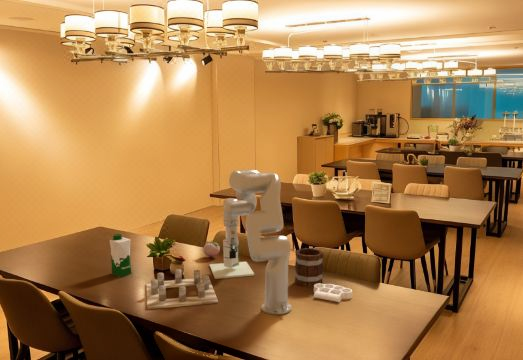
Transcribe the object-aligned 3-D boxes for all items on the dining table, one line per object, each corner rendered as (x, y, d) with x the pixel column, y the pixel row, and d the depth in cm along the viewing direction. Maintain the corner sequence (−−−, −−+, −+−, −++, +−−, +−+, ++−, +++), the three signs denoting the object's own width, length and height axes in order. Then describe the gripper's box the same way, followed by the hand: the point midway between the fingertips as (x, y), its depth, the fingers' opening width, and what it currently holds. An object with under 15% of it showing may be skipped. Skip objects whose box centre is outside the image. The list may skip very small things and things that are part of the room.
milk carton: (123, 269, 258) (121, 232, 255) (134, 273, 252) (132, 235, 249) (108, 274, 251) (107, 236, 248) (120, 278, 245) (118, 239, 242)
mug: (321, 288, 233) (322, 257, 231) (292, 285, 236) (293, 255, 233) (324, 274, 252) (325, 245, 250) (298, 272, 255) (298, 244, 252)
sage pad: (254, 275, 249) (254, 273, 249) (214, 278, 245) (214, 276, 245) (246, 263, 269) (246, 261, 269) (209, 266, 264) (209, 264, 264)
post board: (218, 302, 215) (217, 287, 214) (147, 309, 208) (146, 293, 207) (208, 279, 244) (208, 265, 243) (146, 284, 237) (145, 270, 236)
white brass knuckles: (306, 298, 222) (318, 287, 235) (345, 305, 214) (355, 294, 227) (307, 291, 221) (318, 280, 234) (345, 298, 213) (355, 287, 226)
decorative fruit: (200, 259, 276) (200, 241, 274) (206, 254, 283) (206, 238, 282) (216, 260, 273) (216, 243, 271) (221, 256, 281) (221, 239, 279)
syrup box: (232, 268, 252) (231, 240, 250) (223, 266, 256) (222, 238, 253) (239, 265, 257) (238, 238, 254) (230, 263, 260) (230, 236, 258)
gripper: (241, 226, 245) (241, 260, 248) (235, 218, 262) (235, 250, 265) (226, 227, 244) (226, 261, 246) (221, 219, 260) (221, 251, 263)
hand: (231, 255), depth 255 cm, fingers closed on syrup box, 7 cm apart
